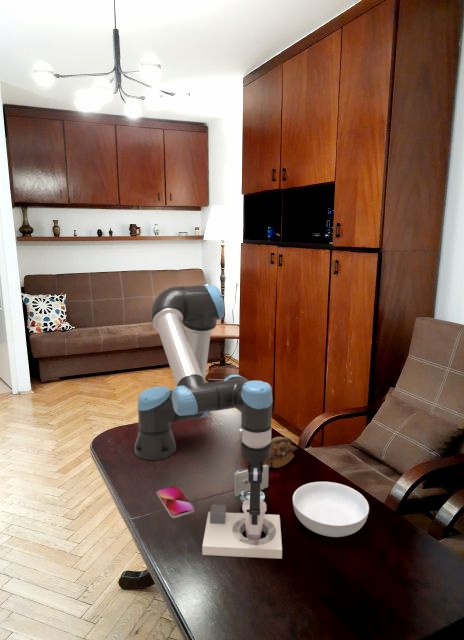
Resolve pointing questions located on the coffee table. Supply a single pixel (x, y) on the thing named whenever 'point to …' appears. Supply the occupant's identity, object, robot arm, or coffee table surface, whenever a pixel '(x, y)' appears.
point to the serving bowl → (330, 508)
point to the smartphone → (175, 501)
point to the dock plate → (240, 535)
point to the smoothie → (246, 515)
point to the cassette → (242, 480)
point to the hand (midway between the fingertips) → (254, 516)
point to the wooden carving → (280, 452)
